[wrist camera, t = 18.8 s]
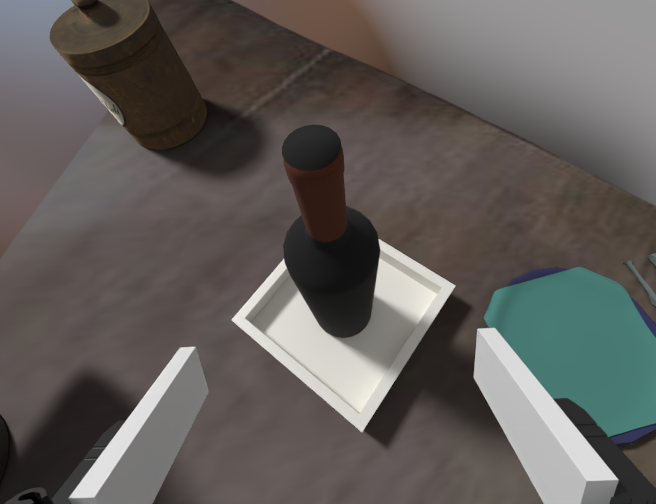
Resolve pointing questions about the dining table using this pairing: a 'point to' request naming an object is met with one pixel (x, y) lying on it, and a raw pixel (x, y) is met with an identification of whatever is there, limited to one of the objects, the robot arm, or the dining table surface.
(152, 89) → the wooden container
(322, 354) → the tray
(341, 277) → the wine bottle
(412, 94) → the dining table surface
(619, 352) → the cutlery set
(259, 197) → the dining table surface
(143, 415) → the robot arm
